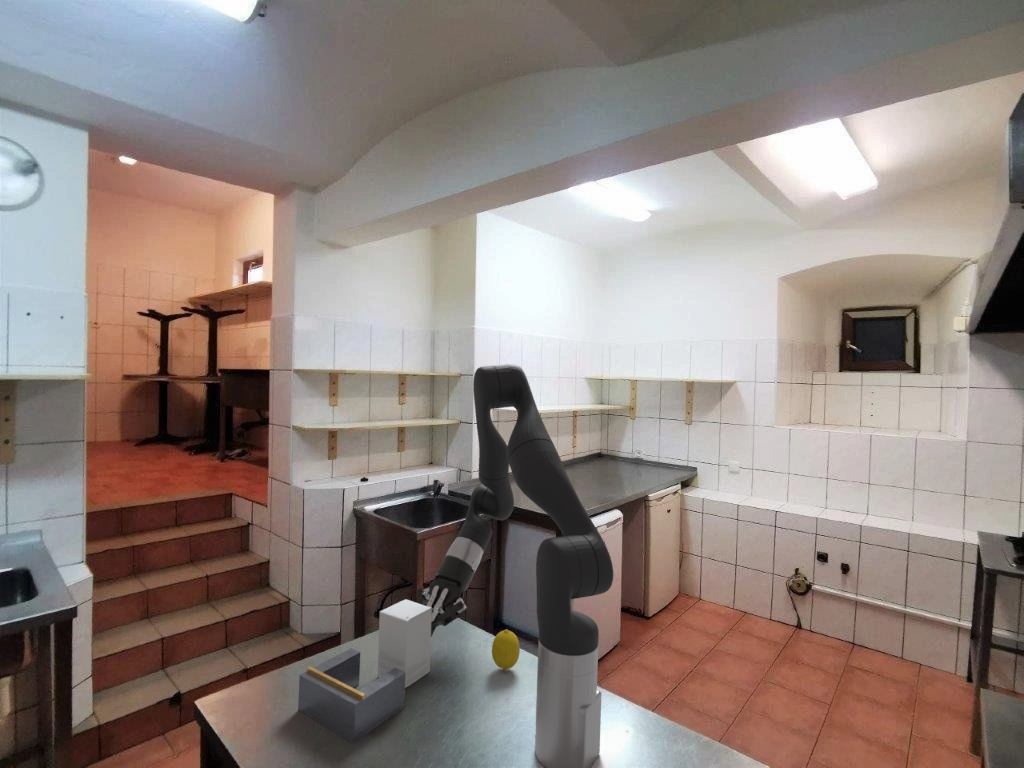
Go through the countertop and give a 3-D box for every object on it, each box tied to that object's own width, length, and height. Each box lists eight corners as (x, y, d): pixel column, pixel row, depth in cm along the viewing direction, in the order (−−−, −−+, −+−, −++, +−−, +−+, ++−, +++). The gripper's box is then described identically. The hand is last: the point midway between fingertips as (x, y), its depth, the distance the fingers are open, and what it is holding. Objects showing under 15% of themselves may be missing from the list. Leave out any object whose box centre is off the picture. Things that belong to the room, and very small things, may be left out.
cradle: (404, 707, 87) (405, 668, 87) (353, 743, 78) (355, 700, 78) (350, 680, 95) (351, 644, 95) (298, 710, 85) (299, 671, 85)
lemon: (519, 663, 102) (521, 624, 102) (517, 679, 97) (519, 637, 97) (493, 661, 103) (494, 622, 103) (489, 676, 97) (490, 635, 97)
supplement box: (431, 672, 98) (433, 607, 98) (403, 690, 92) (406, 621, 92) (403, 660, 102) (406, 597, 102) (375, 676, 96) (378, 610, 96)
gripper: (430, 548, 112) (387, 624, 102) (477, 560, 105) (437, 643, 95) (444, 565, 117) (405, 639, 106) (491, 578, 110) (454, 659, 99)
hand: (420, 641), depth 101 cm, fingers closed
